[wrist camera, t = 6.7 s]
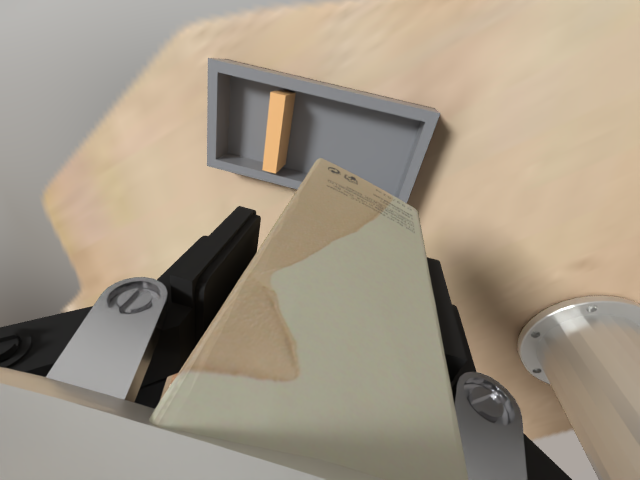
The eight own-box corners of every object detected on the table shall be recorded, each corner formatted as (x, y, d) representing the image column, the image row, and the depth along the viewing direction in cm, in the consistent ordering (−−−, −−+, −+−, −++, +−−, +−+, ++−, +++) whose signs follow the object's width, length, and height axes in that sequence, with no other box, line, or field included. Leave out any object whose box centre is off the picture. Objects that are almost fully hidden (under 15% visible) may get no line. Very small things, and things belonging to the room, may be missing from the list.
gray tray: (435, 108, 25) (440, 113, 23) (400, 203, 30) (401, 216, 27) (225, 58, 26) (207, 58, 24) (222, 157, 31) (207, 165, 28)
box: (319, 152, 11) (-48, 674, 2) (422, 209, 11) (602, 902, 2) (267, 257, 14) (17, 682, 4) (352, 300, 14) (289, 779, 5)
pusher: (295, 92, 26) (285, 95, 23) (285, 164, 29) (275, 173, 27) (282, 89, 26) (270, 91, 23) (273, 161, 29) (262, 170, 27)
